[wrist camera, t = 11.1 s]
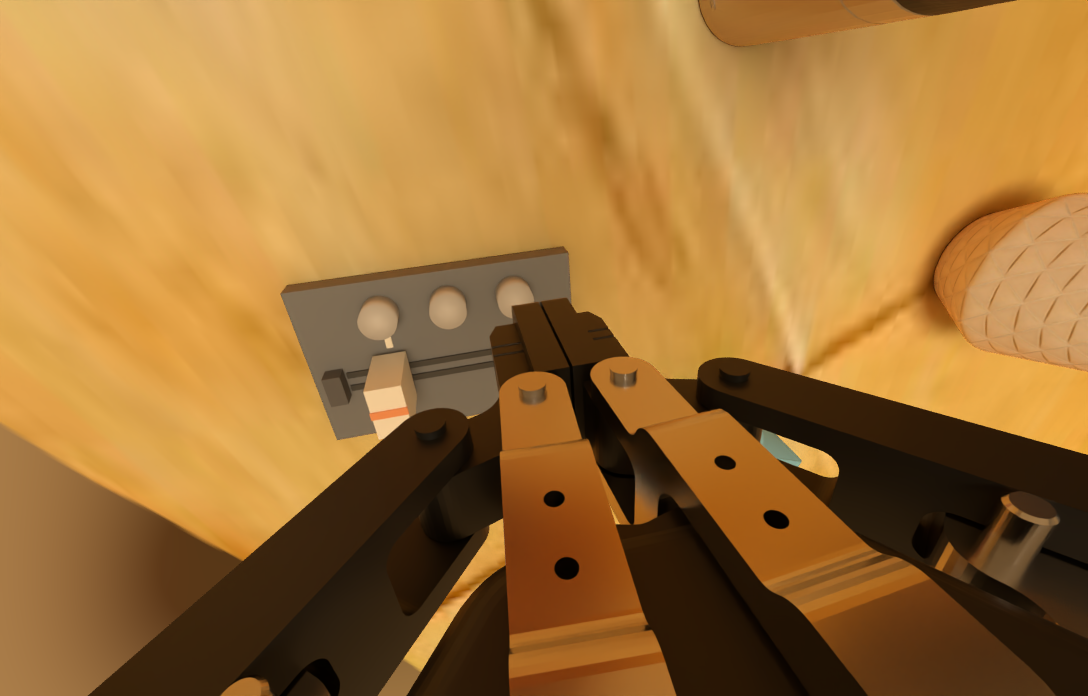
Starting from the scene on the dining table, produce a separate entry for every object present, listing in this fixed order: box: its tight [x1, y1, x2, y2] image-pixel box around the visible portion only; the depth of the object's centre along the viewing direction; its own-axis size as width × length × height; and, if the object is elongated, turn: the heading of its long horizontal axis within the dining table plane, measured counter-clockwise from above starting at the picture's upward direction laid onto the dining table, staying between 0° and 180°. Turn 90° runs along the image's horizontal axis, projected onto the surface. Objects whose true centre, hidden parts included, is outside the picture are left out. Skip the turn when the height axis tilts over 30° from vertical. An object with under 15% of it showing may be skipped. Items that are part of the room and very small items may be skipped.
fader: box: [363, 351, 417, 439], centre depth 42 cm, size 3×5×6 cm, turn 5°
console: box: [281, 247, 571, 440], centre depth 44 cm, size 25×16×4 cm, turn 95°
